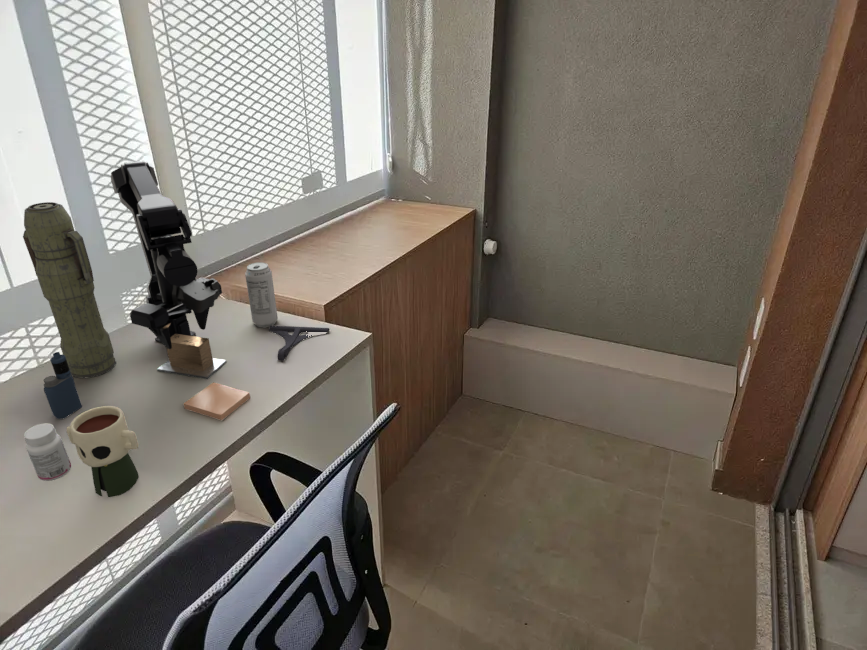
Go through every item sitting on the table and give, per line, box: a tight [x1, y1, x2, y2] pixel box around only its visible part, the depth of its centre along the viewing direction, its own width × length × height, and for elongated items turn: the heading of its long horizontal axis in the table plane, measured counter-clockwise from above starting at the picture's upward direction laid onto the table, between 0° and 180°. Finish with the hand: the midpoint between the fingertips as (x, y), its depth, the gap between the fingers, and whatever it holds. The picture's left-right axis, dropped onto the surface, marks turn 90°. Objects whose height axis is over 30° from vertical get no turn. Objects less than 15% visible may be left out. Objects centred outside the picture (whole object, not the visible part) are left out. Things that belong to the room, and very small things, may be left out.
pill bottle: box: [23, 422, 72, 482], centre depth 91 cm, size 5×5×8 cm
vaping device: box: [43, 351, 83, 420], centre depth 104 cm, size 3×5×12 cm, turn 161°
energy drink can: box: [244, 261, 279, 328], centre depth 136 cm, size 6×6×15 cm
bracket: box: [268, 325, 330, 362], centre depth 130 cm, size 14×15×3 cm
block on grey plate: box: [156, 334, 228, 380], centre depth 120 cm, size 12×7×7 cm, turn 76°
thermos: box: [22, 201, 117, 379], centre depth 113 cm, size 9×12×35 cm
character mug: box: [66, 405, 140, 498], centre depth 87 cm, size 11×7×13 cm, turn 83°
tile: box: [183, 382, 251, 421], centre depth 110 cm, size 2×8×9 cm
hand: (186, 338), depth 118 cm, fingers open, 9 cm apart
